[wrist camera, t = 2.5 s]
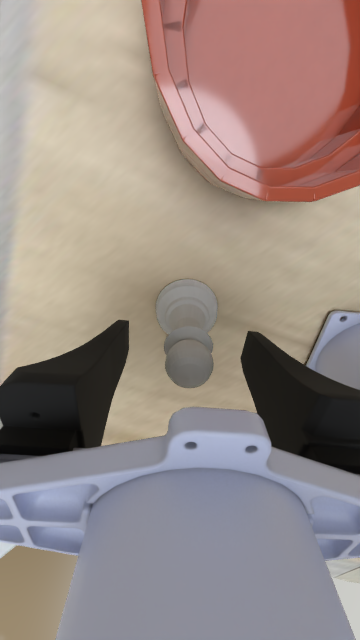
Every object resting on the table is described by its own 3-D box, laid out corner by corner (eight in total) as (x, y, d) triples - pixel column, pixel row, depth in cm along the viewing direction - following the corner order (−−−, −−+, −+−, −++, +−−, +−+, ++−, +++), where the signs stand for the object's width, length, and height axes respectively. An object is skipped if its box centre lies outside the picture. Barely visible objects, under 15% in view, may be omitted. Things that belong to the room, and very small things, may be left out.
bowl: (456, -215, 9) (742, -632, 4) (377, 179, 14) (463, 175, 10) (126, -119, 10) (81, -377, 5) (177, 214, 15) (176, 225, 11)
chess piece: (223, 323, 19) (248, 400, 12) (168, 339, 20) (162, 421, 13) (207, 268, 17) (225, 324, 10) (146, 289, 18) (123, 354, 11)
